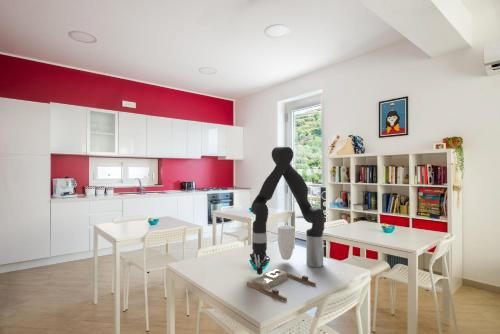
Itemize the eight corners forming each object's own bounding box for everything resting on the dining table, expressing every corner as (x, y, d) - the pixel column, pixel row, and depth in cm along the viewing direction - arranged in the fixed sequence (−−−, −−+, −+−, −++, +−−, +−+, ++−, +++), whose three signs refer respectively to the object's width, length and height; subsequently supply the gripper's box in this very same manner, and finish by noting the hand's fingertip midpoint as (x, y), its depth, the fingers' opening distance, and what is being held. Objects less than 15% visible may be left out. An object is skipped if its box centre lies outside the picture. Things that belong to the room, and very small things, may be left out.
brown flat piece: (278, 272, 152) (278, 266, 152) (316, 285, 135) (316, 279, 135) (246, 285, 136) (246, 278, 136) (284, 302, 118) (284, 295, 118)
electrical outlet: (252, 278, 135) (276, 268, 148) (252, 286, 135) (276, 276, 148) (263, 282, 130) (287, 272, 143) (263, 291, 130) (287, 280, 143)
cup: (296, 266, 161) (296, 229, 161) (278, 266, 161) (277, 228, 161) (293, 260, 171) (293, 225, 171) (276, 260, 172) (276, 225, 172)
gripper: (273, 241, 144) (273, 275, 144) (255, 237, 153) (255, 268, 153) (263, 244, 138) (263, 279, 138) (245, 239, 148) (245, 272, 148)
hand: (259, 274), depth 146 cm, fingers closed
